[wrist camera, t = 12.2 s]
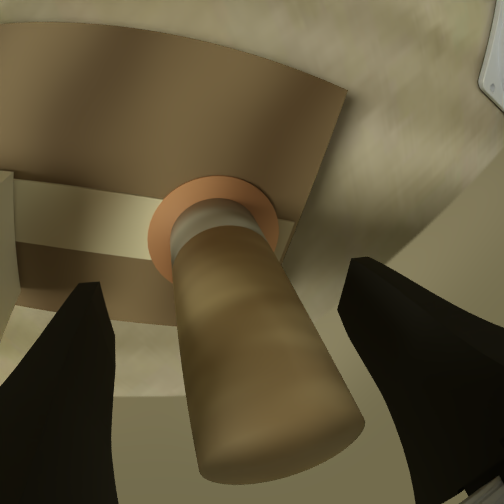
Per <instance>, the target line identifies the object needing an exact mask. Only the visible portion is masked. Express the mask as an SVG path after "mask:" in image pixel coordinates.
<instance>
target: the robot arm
mask: <svg viewBox="0 0 504 504" xmlns="http://www.w3.org/2000/svg"><path fill="white" fill-rule="evenodd" d="M478 83H479V87H480V89H481V90H482V91H483V92H484V93H485V94H486V95H487V96H488V97H489V98H490V99H491V100H492V101H493V102H494V103H495V104H496V105H497V106H498V107H499V108H500V109H501V110H502V111H503V112H504V0H497V2H496V8H495V13H494V18H493V23H492V28H491V33H490V37H489V41H488V46H487V50H486V54H485V58H484V61H483V65H482V69H481V72H480V76H479V80H478ZM337 310H338V313H339V315H340V317H341V320H342V323H343V325H344V327H345V330H346V332H347V334H348V337H349V338H350V340H351V342H352V344H353V345H354V347H355V349H356V351H357V352H358V354H359V356H360V357H361V359H362V361H363V363H364V364H365V366H366V367H367V369H368V371H369V373H370V374H371V376H372V378H373V379H374V381H375V383H376V385H377V387H378V388H379V390H380V392H381V394H382V396H383V398H384V400H385V402H386V404H387V406H388V409H389V411H390V414H391V416H392V419H393V421H394V424H395V426H396V429H397V432H398V435H399V437H400V440H401V443H402V446H403V449H404V453H405V456H406V460H407V463H408V467H409V471H410V475H411V480H412V485H413V490H414V496H415V502H416V504H442V503H444V502H445V501H447V500H449V499H451V498H452V497H454V496H455V495H457V494H459V493H460V492H462V491H463V490H464V489H465V491H466V493H467V494H468V496H469V497H468V498H466V499H465V500H464V501H462V502H461V503H459V504H504V328H503V327H500V326H498V325H495V324H493V323H490V322H488V321H486V320H484V319H482V318H479V317H477V316H475V315H473V314H471V313H468V312H467V311H465V310H463V309H461V308H459V307H457V306H455V305H453V304H452V303H450V302H448V301H446V300H444V299H442V298H441V297H439V296H437V295H435V294H434V293H432V292H430V291H428V290H427V289H425V288H423V287H422V286H420V285H418V284H416V283H415V282H413V281H411V280H410V279H408V278H406V277H405V276H403V275H401V274H400V273H398V272H396V271H394V270H393V269H391V268H389V267H387V266H386V265H384V264H382V263H380V262H378V261H376V260H374V259H372V258H369V257H361V258H351V261H350V265H349V269H348V273H347V277H346V280H345V284H344V288H343V291H342V295H341V298H340V302H339V305H338V309H337ZM114 380H115V334H114V331H113V328H112V324H111V321H110V318H109V314H108V311H107V307H106V304H105V300H104V296H103V293H102V289H101V285H100V281H98V282H85V283H78V285H77V286H76V287H75V288H74V290H73V291H72V292H71V294H70V295H69V296H68V298H67V299H66V300H65V302H64V303H63V304H62V306H61V307H60V309H59V310H58V311H57V313H56V314H55V316H54V317H53V318H52V320H51V321H50V323H49V324H48V325H47V327H46V328H45V329H44V331H43V332H42V334H41V335H40V336H39V338H38V339H37V340H36V342H35V343H34V344H33V346H32V347H31V348H30V350H29V351H28V352H27V354H26V355H25V356H24V358H23V359H22V360H21V362H20V363H19V364H18V366H17V367H16V368H15V369H14V371H13V372H12V373H11V374H10V375H9V377H8V378H7V379H6V380H5V381H4V383H3V384H2V385H1V386H0V504H118V498H117V492H116V486H115V479H114V471H113V462H112V452H111V425H112V408H113V393H114Z"/></svg>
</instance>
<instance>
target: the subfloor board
mask: <svg viewBox="0 0 504 504" xmlns="http://www.w3.org/2000/svg"><path fill="white" fill-rule="evenodd" d="M347 92H348V90H346V89H344V88H341V87H339V86H337V85H334V84H332V83H330V82H327V81H325V80H322V79H320V78H318V77H315V76H313V75H310V74H307V73H305V72H302V71H299V70H297V69H294V68H291V67H289V66H286V65H283V64H280V63H277V62H274V61H271V60H268V59H265V58H262V57H259V56H256V55H252V54H249V53H246V52H242V51H239V50H235V49H232V48H228V47H224V46H220V45H217V44H213V43H208V42H204V41H200V40H196V39H191V38H186V37H182V36H177V35H172V34H166V33H161V32H155V31H149V30H142V29H135V28H128V27H119V26H110V25H99V24H86V23H65V22H27V23H7V24H0V171H10V172H14V176H13V206H14V230H15V245H16V256H17V265H18V274H19V281H20V288H21V292H20V294H19V297H18V299H17V301H16V303H15V305H18V306H24V307H29V308H35V309H41V310H47V311H53V312H57V311H58V310H59V309H60V307H61V306H62V304H63V303H64V302H65V300H66V299H67V298H68V296H69V295H70V294H71V292H72V291H73V290H74V288H75V287H76V286H77V285H78V283H85V282H98V281H100V285H101V289H102V293H103V296H104V300H105V304H106V307H107V311H108V314H109V318H110V320H119V321H127V322H136V323H146V324H156V325H167V326H177V321H176V311H175V300H174V289H173V278H172V265H171V250H170V235H171V230H172V227H173V225H174V223H175V221H176V220H177V218H178V217H179V216H180V214H181V213H182V212H183V211H184V210H186V209H187V208H188V207H190V206H191V205H193V204H195V203H197V202H199V201H202V200H206V199H211V198H224V199H229V200H233V201H235V202H238V203H240V204H241V205H243V206H244V207H246V208H247V209H248V210H249V211H250V212H251V214H252V215H253V217H254V218H255V220H256V222H257V224H258V225H259V227H260V229H261V231H262V232H263V234H264V236H265V238H266V240H267V241H268V243H269V245H270V247H271V248H272V250H273V252H274V254H275V256H276V257H277V259H278V261H279V263H280V265H282V262H283V260H284V257H285V255H286V252H287V250H288V247H289V245H290V242H291V240H292V237H293V235H294V232H295V230H296V227H297V225H298V222H299V220H300V217H301V214H302V212H303V209H304V207H305V204H306V202H307V199H308V196H309V194H310V191H311V189H312V186H313V183H314V181H315V178H316V176H317V173H318V170H319V168H320V165H321V162H322V160H323V157H324V154H325V152H326V149H327V146H328V144H329V141H330V138H331V136H332V133H333V130H334V128H335V125H336V122H337V119H338V117H339V114H340V111H341V108H342V106H343V103H344V100H345V97H346V94H347Z"/></svg>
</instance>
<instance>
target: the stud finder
mask: <svg viewBox="0 0 504 504" xmlns="http://www.w3.org/2000/svg"><path fill="white" fill-rule="evenodd" d="M13 176H14V172H10V171H0V341H1V339H2V336H3V333H4V331H5V328H6V325H7V323H8V320H9V318H10V315H11V313H12V311H13V308H14V306H15V303H16V301H17V299H18V297H19V294H20V292H21V288H20V281H19V274H18V265H17V256H16V245H15V230H14V206H13Z"/></svg>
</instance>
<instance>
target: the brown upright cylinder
mask: <svg viewBox="0 0 504 504" xmlns="http://www.w3.org/2000/svg"><path fill="white" fill-rule="evenodd" d="M170 250H171V265H172V278H173V289H174V300H175V311H176V321H177V330H178V339H179V347H180V355H181V363H182V371H183V378H184V385H185V392H186V398H187V405H188V411H189V417H190V422H191V429H192V435H193V440H194V446H195V451H196V457H197V462H198V467H199V472H200V474H201V475H202V476H203V477H204V478H205V479H207V480H209V481H212V482H216V483H220V484H231V485H244V484H255V483H262V482H267V481H273V480H277V479H281V478H285V477H288V476H291V475H294V474H297V473H300V472H303V471H305V470H308V469H310V468H313V467H315V466H317V465H319V464H321V463H323V462H325V461H327V460H328V459H330V458H332V457H334V456H335V455H337V454H338V453H340V452H341V451H343V450H344V449H346V448H347V447H348V446H349V445H350V444H352V443H353V442H354V441H355V440H356V439H357V438H358V436H359V435H360V434H361V432H362V431H363V429H364V426H365V420H364V418H363V416H362V414H361V412H360V410H359V408H358V406H357V404H356V402H355V401H354V399H353V397H352V395H351V393H350V391H349V389H348V388H347V386H346V384H345V382H344V380H343V378H342V376H341V374H340V373H339V371H338V369H337V367H336V365H335V363H334V362H333V360H332V357H331V356H330V354H329V352H328V350H327V348H326V346H325V345H324V343H323V341H322V339H321V337H320V335H319V333H318V332H317V330H316V328H315V326H314V324H313V322H312V321H311V319H310V317H309V315H308V313H307V312H306V310H305V308H304V306H303V304H302V302H301V301H300V299H299V297H298V295H297V293H296V292H295V290H294V288H293V286H292V284H291V283H290V281H289V279H288V277H287V275H286V274H285V272H284V270H283V268H282V266H281V265H280V263H279V261H278V259H277V257H276V256H275V254H274V252H273V250H272V248H271V247H270V245H269V243H268V241H267V240H266V238H265V236H264V234H263V232H262V231H261V229H260V227H259V225H258V224H257V222H256V220H255V218H254V217H253V215H252V214H251V212H250V211H249V210H248V209H247V208H246V207H244V206H243V205H241V204H240V203H238V202H235V201H233V200H229V199H224V198H211V199H206V200H202V201H199V202H197V203H195V204H193V205H191V206H190V207H188V208H187V209H186V210H184V211H183V212H182V213H181V214H180V216H179V217H178V218H177V220H176V221H175V223H174V225H173V227H172V230H171V235H170Z"/></svg>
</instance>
